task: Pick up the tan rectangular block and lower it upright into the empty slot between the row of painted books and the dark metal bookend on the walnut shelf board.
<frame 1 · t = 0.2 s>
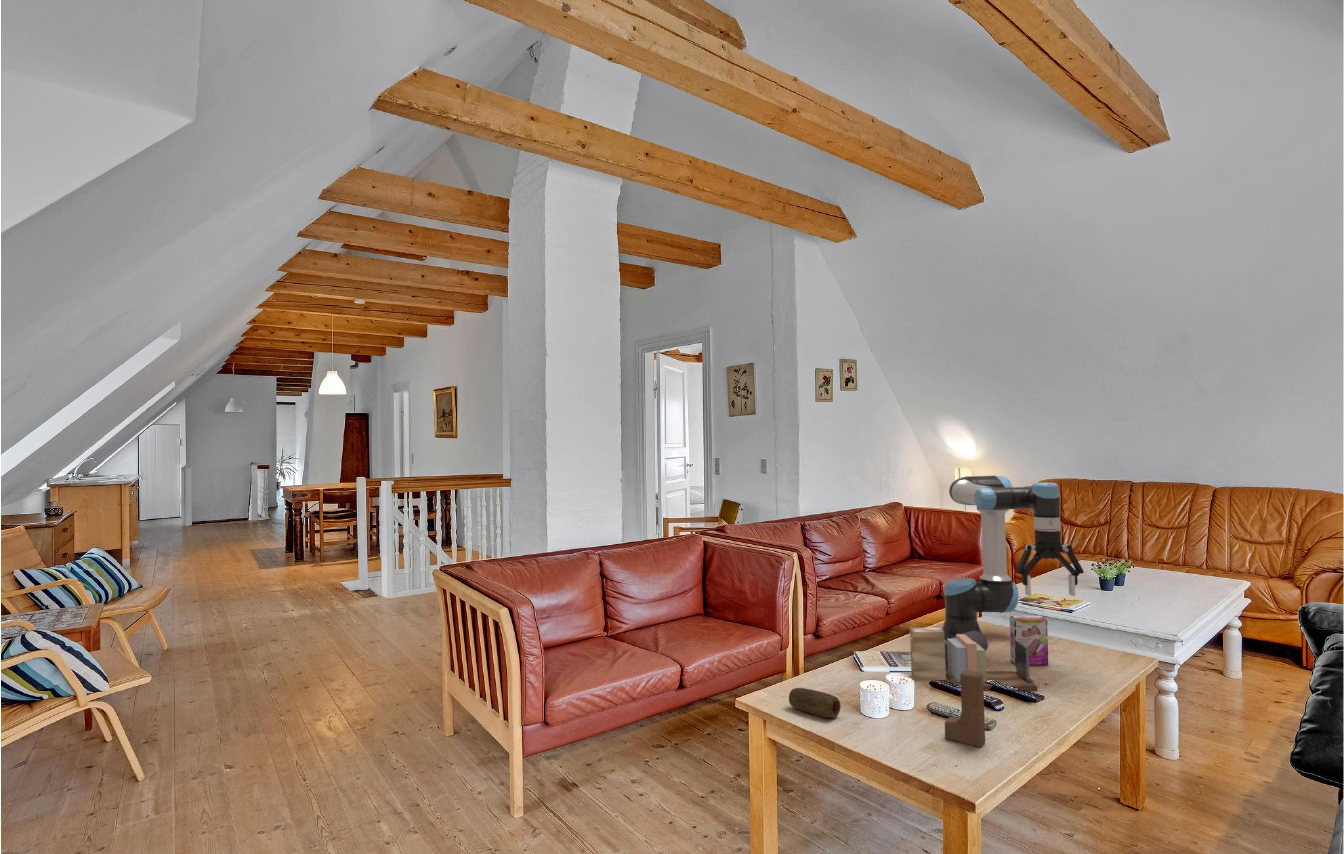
hand: (1050, 595, 218), 28 cm above the table, fingers open, 13 cm apart
bluetooth speaker: (963, 664, 236), on the table
bookend: (1024, 661, 216), on the shelf, point 7 cm above the table
wooden block: (965, 741, 175), on the table
tan rectangular block: (928, 677, 223), on the table
candy bar box: (1029, 664, 235), on the table
portable cylindrical speaker: (814, 713, 196), on the table
shelf: (989, 682, 217), on the table
book row: (966, 657, 218), on the shelf, point 8 cm above the table
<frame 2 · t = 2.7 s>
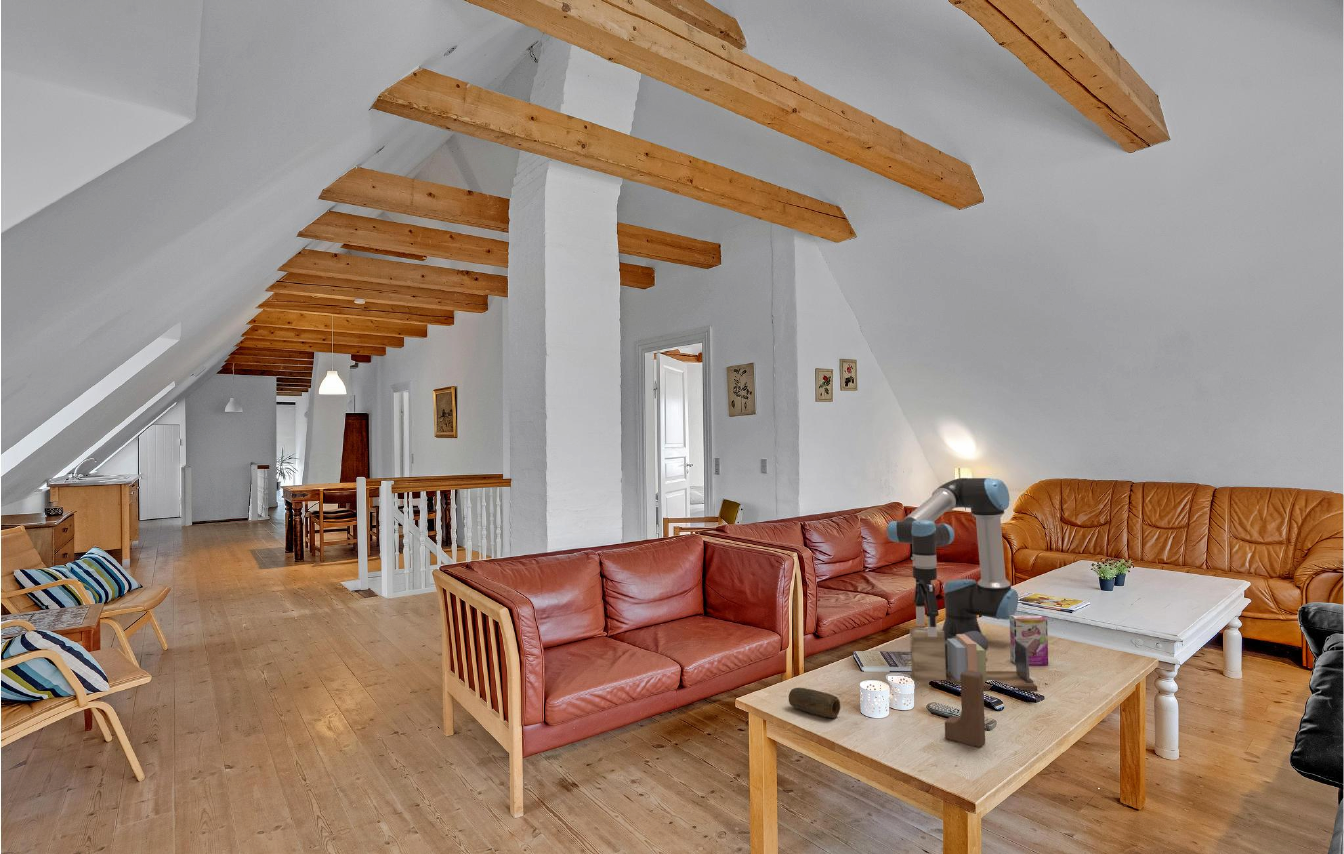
hand: (926, 630, 223), 16 cm above the table, fingers open, 13 cm apart
nothing on the table moved.
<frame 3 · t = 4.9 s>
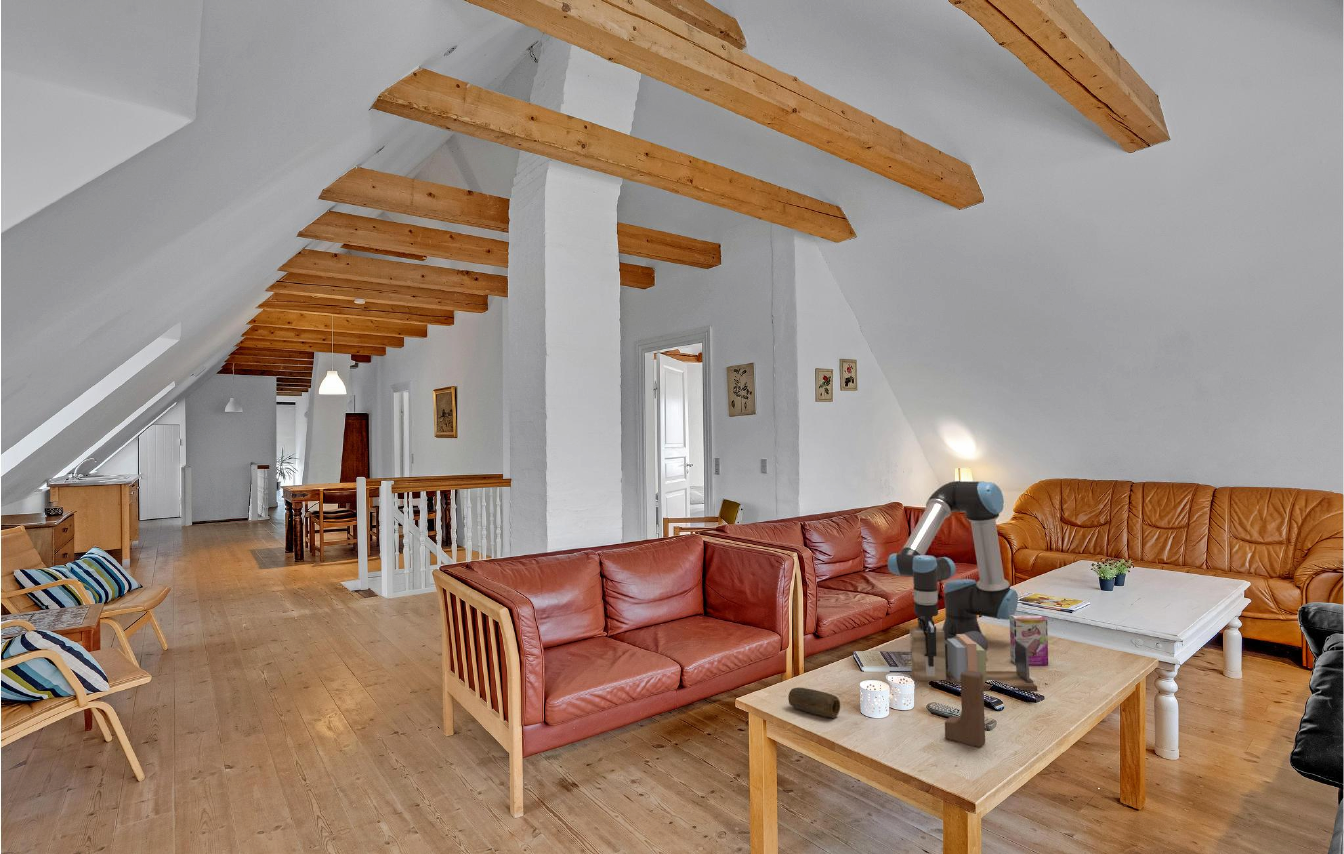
hand: (928, 672, 223), 2 cm above the table, fingers closed on tan rectangular block, 4 cm apart
tan rectangular block: (928, 677, 223), on the table, touching gripper
everything else where it was.
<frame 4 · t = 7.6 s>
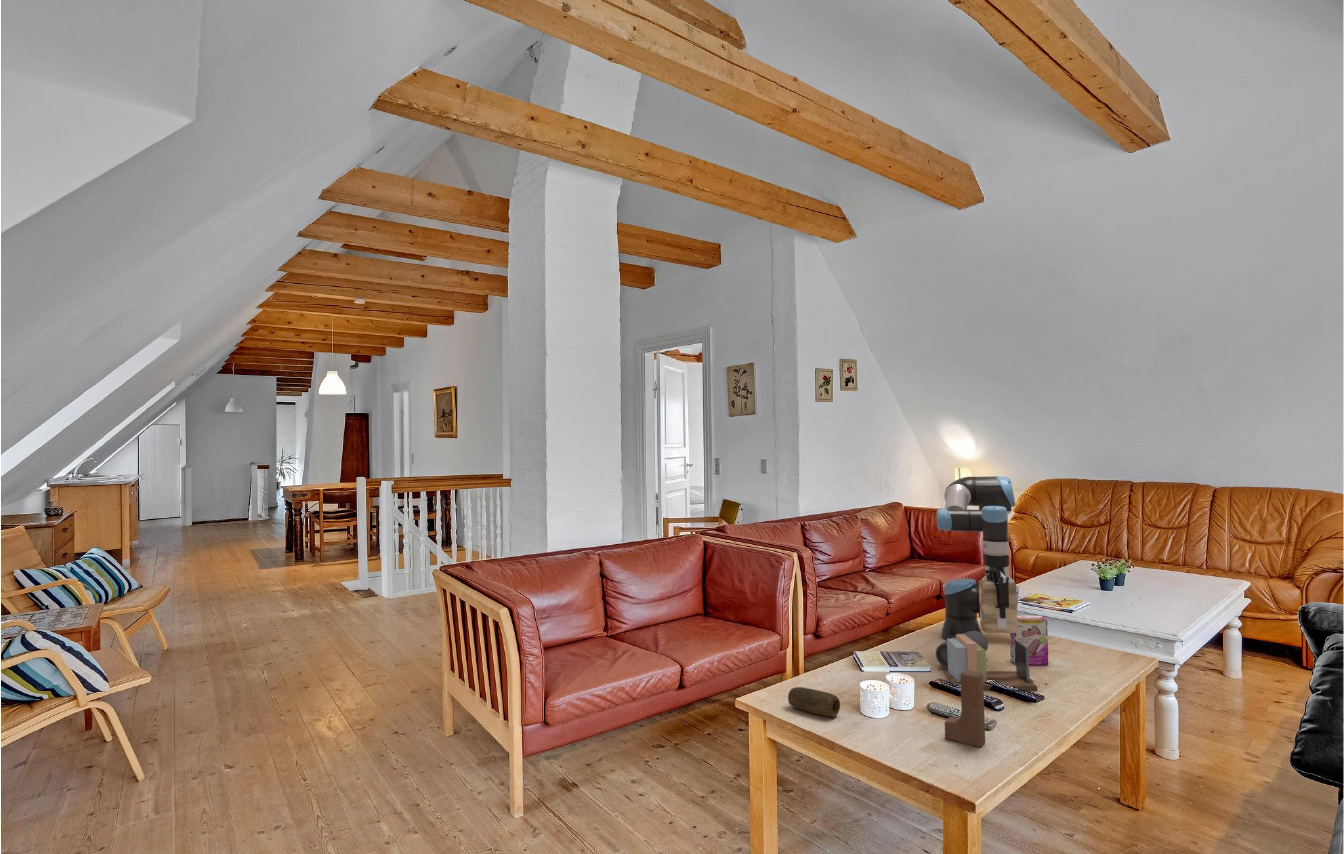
hand: (998, 625, 217), 18 cm above the table, fingers closed on tan rectangular block, 4 cm apart
tan rectangular block: (998, 630, 217), point 17 cm above the table, touching gripper
everything else where it was.
when the fingers open (5 cm above the table, at t = 10.2 s): tan rectangular block drops 2 cm, resting on shelf.
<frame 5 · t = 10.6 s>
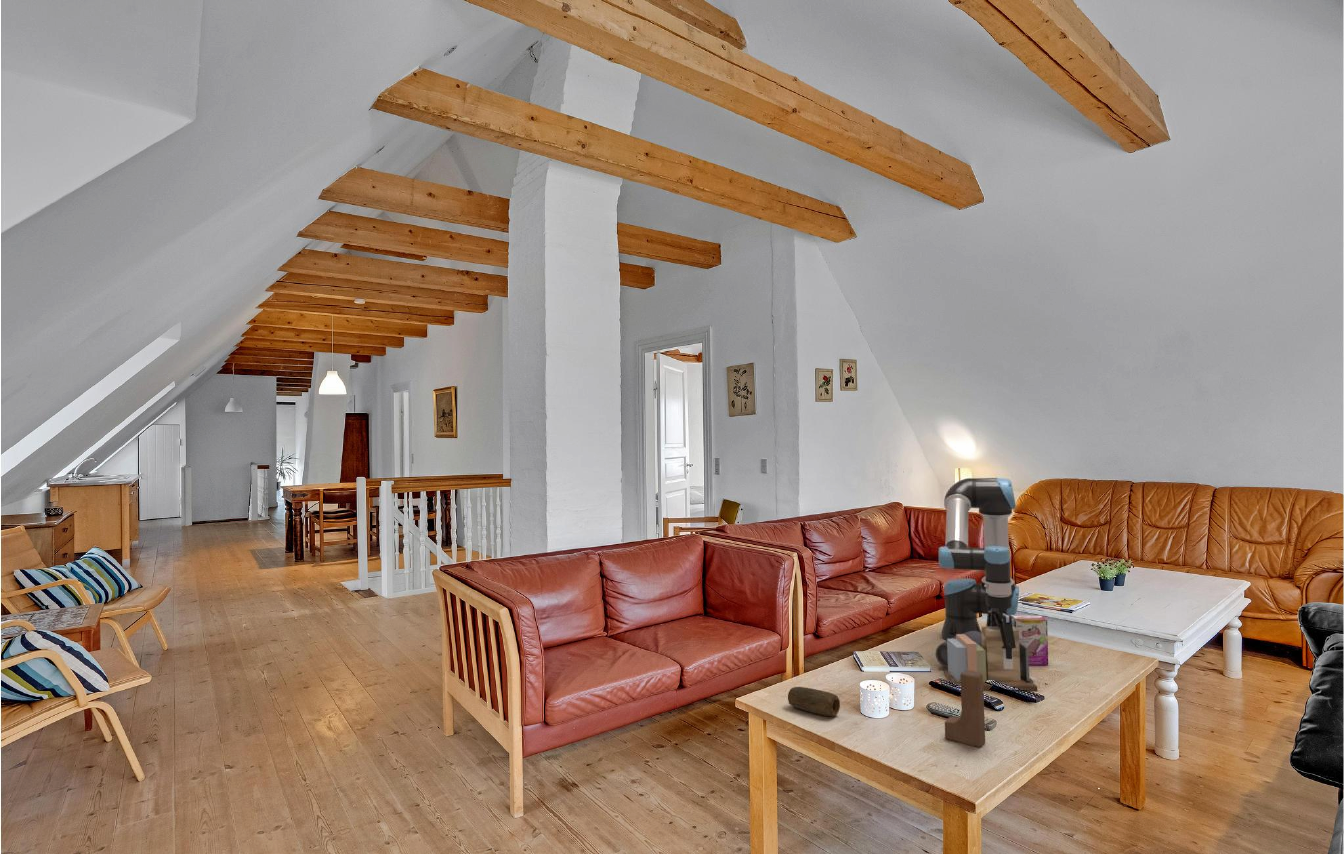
hand: (1001, 662, 217), 6 cm above the table, fingers open, 11 cm apart
tan rectangular block: (1001, 677, 217), point 2 cm above the table, touching shelf
everything else where it was.
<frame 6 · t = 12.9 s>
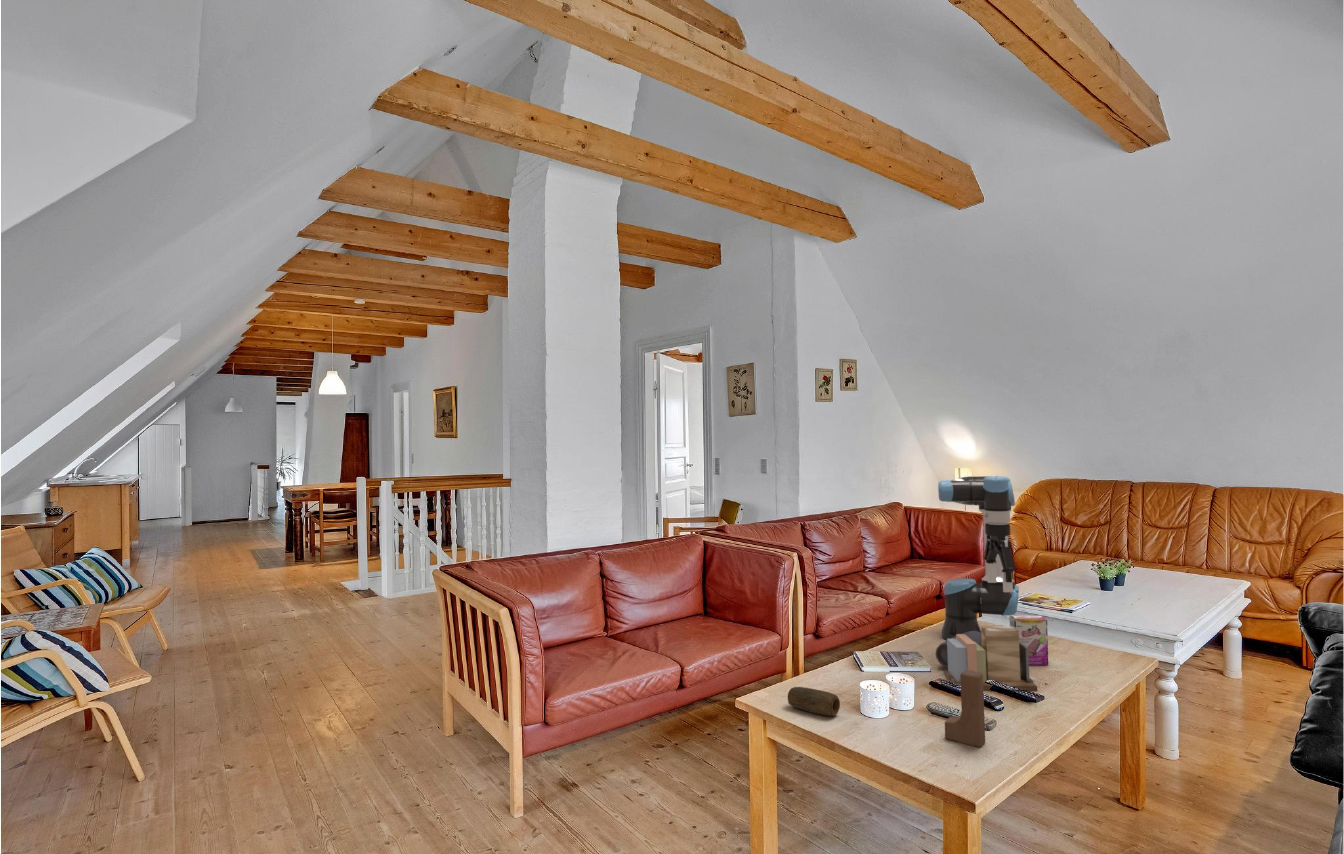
hand: (999, 587, 221), 30 cm above the table, fingers open, 13 cm apart
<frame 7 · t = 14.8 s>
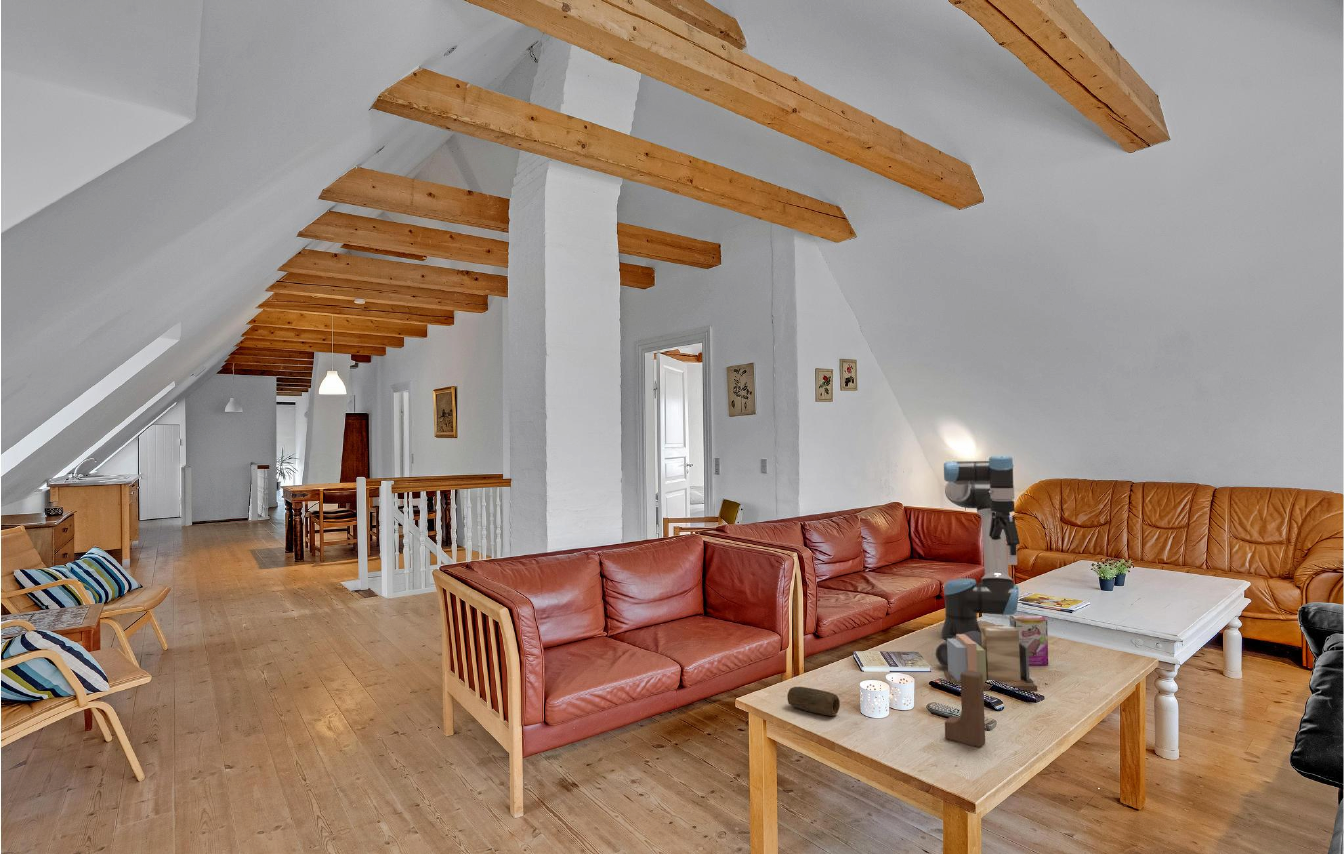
hand: (1004, 561, 232), 37 cm above the table, fingers open, 13 cm apart
at the end: tan rectangular block inside the target area on the shelf (0.3 cm from its centre), point 1.5 cm above the shelf's base; tan rectangular block tilted 0°; the gripper is holding nothing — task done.
